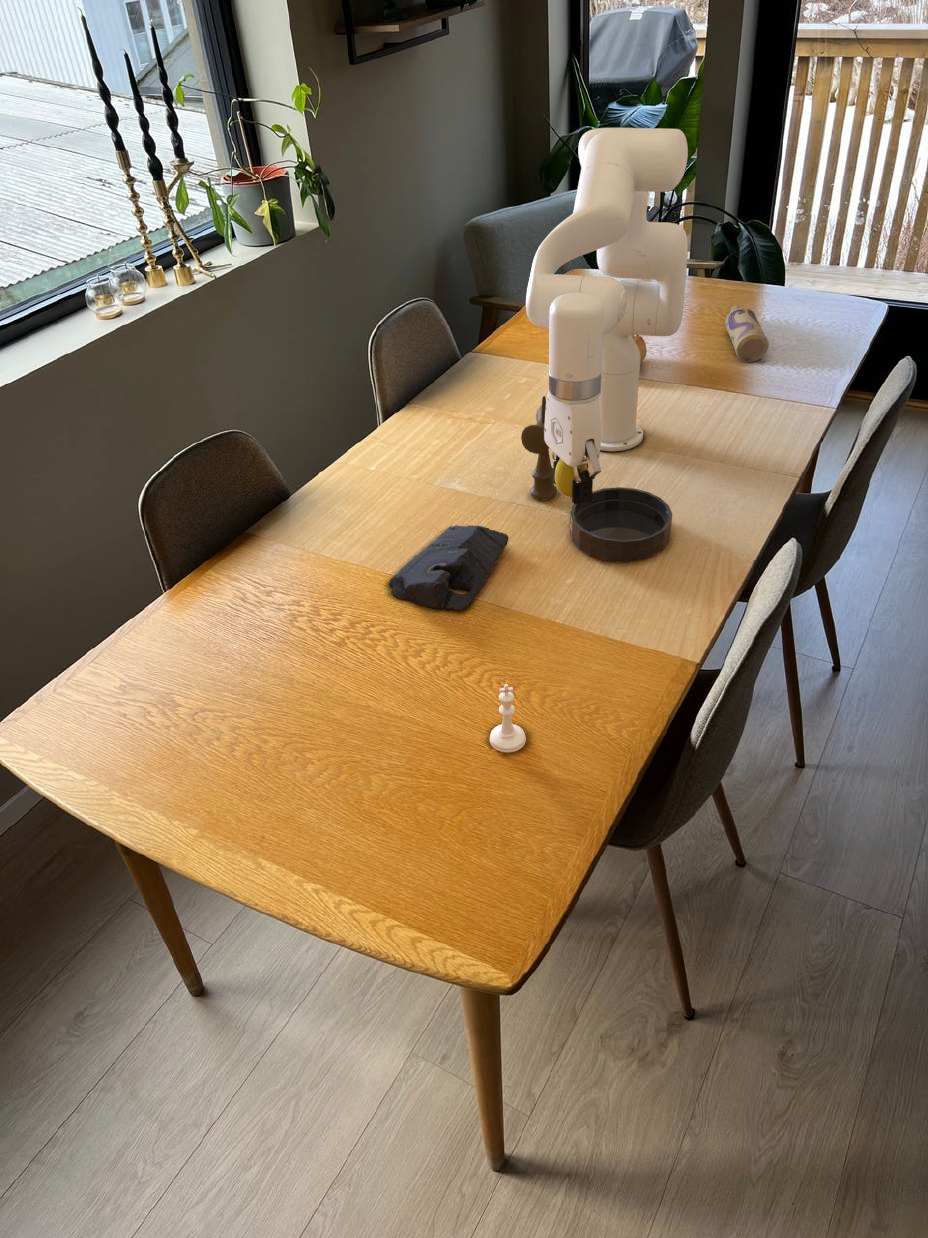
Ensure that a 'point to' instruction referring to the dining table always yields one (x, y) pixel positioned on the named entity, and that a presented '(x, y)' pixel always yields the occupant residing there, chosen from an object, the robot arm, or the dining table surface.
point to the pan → (621, 524)
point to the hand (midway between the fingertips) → (572, 490)
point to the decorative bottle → (746, 334)
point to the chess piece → (507, 725)
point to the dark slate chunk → (450, 567)
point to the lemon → (566, 477)
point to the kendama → (540, 456)
